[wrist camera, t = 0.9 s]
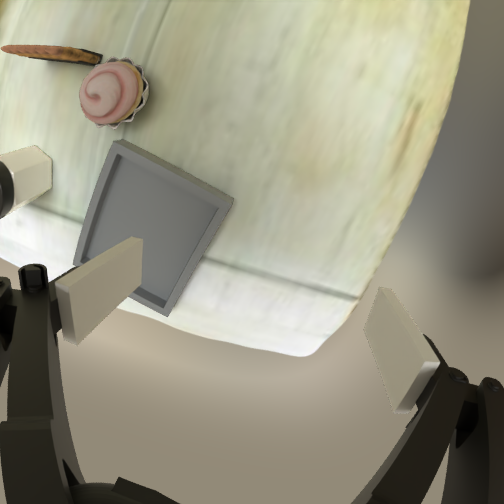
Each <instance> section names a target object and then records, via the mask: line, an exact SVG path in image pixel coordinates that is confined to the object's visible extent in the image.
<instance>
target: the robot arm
mask: <svg viewBox="0 0 504 504" xmlns="http://www.w3.org/2000/svg"><path fill="white" fill-rule="evenodd" d="M142 249H143V239H141V238H136V237H130V238H128V239H126V240H124V241H122V242H121V243H119V244H117V245H115V246H114V247H112V248H110V249H108V250H107V251H105V252H103V253H101V254H100V255H98V256H96V257H95V258H93V259H91V260H90V261H88V262H86V263H85V264H83V265H80V266H77V267H73V268H72V269H70V270H68V271H67V273H66V272H65V273H64V274H62V275H61V276H59V277H57V278H55V279H54V280H52V281H51V282H49V283H48V276H47V268H46V267H45V266H44V265H42V264H28V265H25V266H23V267H21V268H20V269H19V271H18V273H19V280H20V286H21V290H15V289H12V288H11V282H10V279H8V278H7V277H0V386H1V383H2V381H3V378H4V375H5V372H6V370H7V367H8V364H9V376H8V399H7V416H8V417H7V421H2V422H1V423H0V456H1V466H2V476H3V483H4V490H5V496H6V501H7V504H179V503H177V502H175V501H174V500H172V499H170V498H168V497H166V496H164V495H162V494H161V493H159V492H157V491H156V490H152V489H150V488H146V487H144V486H141V485H139V484H136V483H133V482H131V481H128V480H125V479H123V478H121V477H118V479H117V481H116V483H115V484H110V483H86V482H85V480H84V478H83V475H82V473H81V471H80V468H79V464H78V461H77V457H76V453H75V449H74V445H73V441H72V437H71V432H70V428H69V423H68V418H67V412H66V406H65V401H64V394H63V387H62V379H61V372H60V361H59V349H58V338H57V332H58V331H59V330H60V329H61V328H62V333H63V338H64V340H66V341H68V342H70V343H73V344H75V345H78V344H79V343H80V342H81V341H82V340H83V339H84V338H85V337H86V336H87V335H88V334H89V333H90V332H91V331H92V330H93V329H94V328H95V327H96V326H98V324H100V323H101V322H102V321H103V320H104V319H105V318H106V317H107V316H108V315H109V314H110V313H111V312H112V311H113V310H114V309H115V308H116V307H117V306H118V305H119V304H120V303H121V302H122V301H124V300H125V299H126V298H127V297H128V296H129V295H130V294H131V293H132V292H133V291H134V290H135V289H136V288H137V287H138V286H140V285H141V277H142ZM364 332H365V335H366V337H367V340H368V342H369V345H370V348H371V350H372V353H373V356H374V358H375V361H376V364H377V366H378V369H379V372H380V375H381V378H382V381H383V383H384V386H385V389H386V392H387V395H388V398H389V401H390V404H391V407H392V410H393V413H409V412H410V411H411V409H412V408H413V406H414V405H415V403H416V405H417V407H418V411H417V412H416V414H415V415H414V417H413V418H412V419H411V421H410V422H409V423H408V425H407V426H406V430H405V432H404V433H403V435H402V436H401V438H400V439H399V441H398V443H397V444H396V445H395V447H394V448H393V450H392V451H391V453H390V455H389V456H388V457H387V459H386V460H385V461H384V463H383V464H382V466H381V467H380V468H379V470H378V471H377V472H376V474H375V475H374V476H373V478H372V479H371V480H370V481H369V483H368V484H367V485H366V486H365V488H364V489H363V490H362V491H361V492H360V494H359V495H358V496H357V497H356V499H355V500H354V501H353V502H352V503H351V504H421V502H422V501H423V499H424V497H425V495H426V493H427V491H428V489H429V487H430V485H431V483H432V481H433V479H434V477H435V475H436V473H437V471H438V469H439V467H440V464H441V462H442V460H443V457H444V455H445V453H446V450H447V448H448V445H449V443H450V446H449V456H448V465H447V473H446V479H445V485H444V491H443V497H442V502H441V504H504V388H503V386H502V385H501V383H500V382H499V381H498V380H496V379H493V378H490V377H485V378H484V379H483V380H482V382H481V383H480V385H479V386H477V385H473V384H470V383H469V380H468V378H467V376H466V375H465V374H464V373H463V372H462V371H460V370H458V369H456V368H452V367H448V365H447V363H446V362H445V360H444V359H443V357H442V356H441V354H440V353H439V351H438V349H437V348H436V347H435V345H434V343H433V342H432V341H431V339H429V338H428V337H427V336H426V335H424V334H422V333H421V331H420V330H419V328H418V327H417V325H416V324H415V322H414V321H413V319H412V318H411V316H410V315H409V313H408V312H407V310H406V309H405V307H404V306H403V305H402V303H401V302H400V300H399V299H398V298H397V296H396V295H395V293H394V292H393V291H392V289H388V288H383V287H379V289H378V292H377V295H376V298H375V301H374V303H373V306H372V309H371V311H370V314H369V317H368V319H367V322H366V325H365V327H364ZM9 362H10V363H9Z"/></svg>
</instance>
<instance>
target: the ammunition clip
mask: <svg viewBox="0 0 504 504" xmlns="http://www.w3.org/2000/svg"><path fill="white" fill-rule="evenodd" d="M1 50H2V51H4V52H7V53H11V54H16V55H19V56H25V57H28V58H34V59H41V60H49V61H59V62H68V63H76V64H83V65H89V66H95V65H98V64H100V61H101V58H102V56H103V55H101V54H98V53H95V52H91V51H88V50H84V49H76V48H72V47H61V46H47V45H6V46H3V47H1Z"/></svg>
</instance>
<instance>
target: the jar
mask: <svg viewBox="0 0 504 504" xmlns="http://www.w3.org/2000/svg"><path fill="white" fill-rule="evenodd" d="M51 188H52V159H51V158H50V157H48V156H47V155H46V154H45V153H44V152H42V151H41V150H40V149H39V148H38V147H37V146H35V145H34V146H30V147H26V148H22V149H19V150H15V151H12V152H9V153H5V154H2V155H0V219H1V218H3V217H5V216H6V215H8V214H10V213H12V212H13V211H15V210H17V209H19V208H20V207H22V206H24V205H26V204H28V203H30V202H31V201H33V200H35V199H37V198H38V197H39V196H41V195H42V194H44V193H45V192H46V191H48V190H49V189H51Z"/></svg>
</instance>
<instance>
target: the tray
mask: <svg viewBox="0 0 504 504" xmlns="http://www.w3.org/2000/svg"><path fill="white" fill-rule="evenodd" d="M233 199H234V198H232V197H230V196H228V195H227V194H225V193H223V192H221V191H219V190H218V189H216V188H214V187H212V186H210V185H209V184H207V183H205V182H203V181H201V180H199V179H198V178H196V177H194V176H192V175H190V174H188V173H187V172H185V171H183V170H181V169H179V168H177V167H175V166H174V165H172V164H170V163H168V162H166V161H164V160H162V159H160V158H158V157H157V156H155V155H153V154H151V153H149V152H147V151H145V150H143V149H141V148H139V147H137V146H135V145H133V144H131V143H129V142H127V141H126V140H124V139H121V140H117V141H113V143H112V145H111V148H110V150H109V153H108V155H107V158H106V160H105V163H104V165H103V168H102V170H101V173H100V176H99V178H98V181H97V184H96V187H95V189H94V192H93V195H92V198H91V201H90V204H89V207H88V210H87V214H86V217H85V220H84V223H83V227H82V230H81V234H80V237H79V241H78V245H77V248H76V252H75V256H74V260H73V265H75V266H76V267H77V266H80V265H83V264H85V263H86V262H88V261H90V260H91V259H93V258H95V257H96V256H98V255H100V254H101V253H103V252H105V251H107V250H108V249H110V248H112V247H114V246H115V245H117V244H119V243H121V242H122V241H124V240H126V239H128V238H130V237H136V238H141V239H143V249H142V277H141V285H140V286H138V287H137V288H136V289H135V290H134V291H133V292H132V293H131V294H130V295H129V296H128V297H130V298H132V299H134V300H135V301H137V302H139V303H141V304H143V305H145V306H147V307H149V308H151V309H152V310H154V311H156V312H158V313H160V314H162V315H164V316H166V317H168V316H169V314H170V312H171V310H172V309H173V307H174V305H175V303H176V301H177V299H178V298H179V296H180V294H181V292H182V290H183V289H184V287H185V285H186V283H187V281H188V280H189V278H190V276H191V274H192V273H193V271H194V269H195V267H196V266H197V264H198V262H199V260H200V259H201V257H202V255H203V253H204V252H205V250H206V248H207V246H208V245H209V243H210V241H211V240H212V238H213V236H214V234H215V233H216V231H217V229H218V228H219V226H220V224H221V222H222V221H223V219H224V217H225V216H226V214H227V212H228V211H229V209H230V207H231V206H232V203H233Z"/></svg>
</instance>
